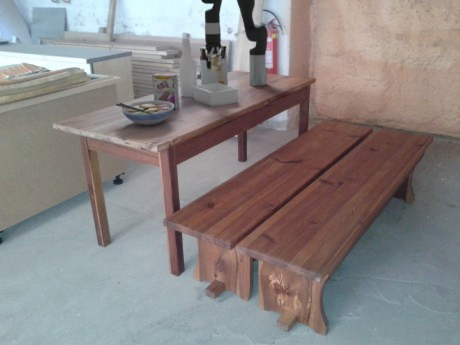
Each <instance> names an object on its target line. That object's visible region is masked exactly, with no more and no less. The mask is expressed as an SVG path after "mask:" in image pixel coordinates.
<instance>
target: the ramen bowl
mask: <svg viewBox="0 0 460 345" xmlns="http://www.w3.org/2000/svg"><path fill="white" fill-rule="evenodd" d="M115 106H118V107H121V109H120V110H121V113H122V114H123V115H124V116H125V118H127V119H128V120H129V121H131V122H133V123H135V124H139V125H141V126H155V125H157V124H159V123H161V122H163V121H165V120H166V119H167V118H169V117H170V115H171V114H172V113H173V111H174V110H173V109H174V104H173V103H171V102H167V101H154V99H153V100H152V99H151V100H142V101H135V102H130V103H128V104H125V103H121V102H118V103H116V104H115Z"/></svg>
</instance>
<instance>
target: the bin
mask: <svg viewBox="0 0 460 345" xmlns="http://www.w3.org/2000/svg"><path fill="white" fill-rule="evenodd" d="M238 90H239V89H238V87H237V88H236V87H233V86H230V85H224V84H221V83H211V84H205V85H201V84H200V85H198V84H197V86H193V97H192V98H193V100H194V101H196V102H199V103H200V104H203V105H206V106H208V107H211V108H215V107H220V106H227V105H233V104H237V103H239V92H238Z"/></svg>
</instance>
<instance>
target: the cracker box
mask: <svg viewBox="0 0 460 345" xmlns="http://www.w3.org/2000/svg"><path fill="white" fill-rule="evenodd" d="M205 53H206V54H207V52H205ZM220 54H221V52H220ZM227 54H228V53H227V52H225V58H223V59H221V71H219V72H210V71H207V64H206V60H203V59H202V55H201V53H200V54H199V62H200V65H199V67H200V80H201V84H200V85H205V84H211V83H221V84H224V85H228V84H229V82H228V81H229V80H228V61H227V60H228V58H227V57H228V56H227ZM212 56H216V55H215V54H212ZM228 86H229V85H228Z"/></svg>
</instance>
